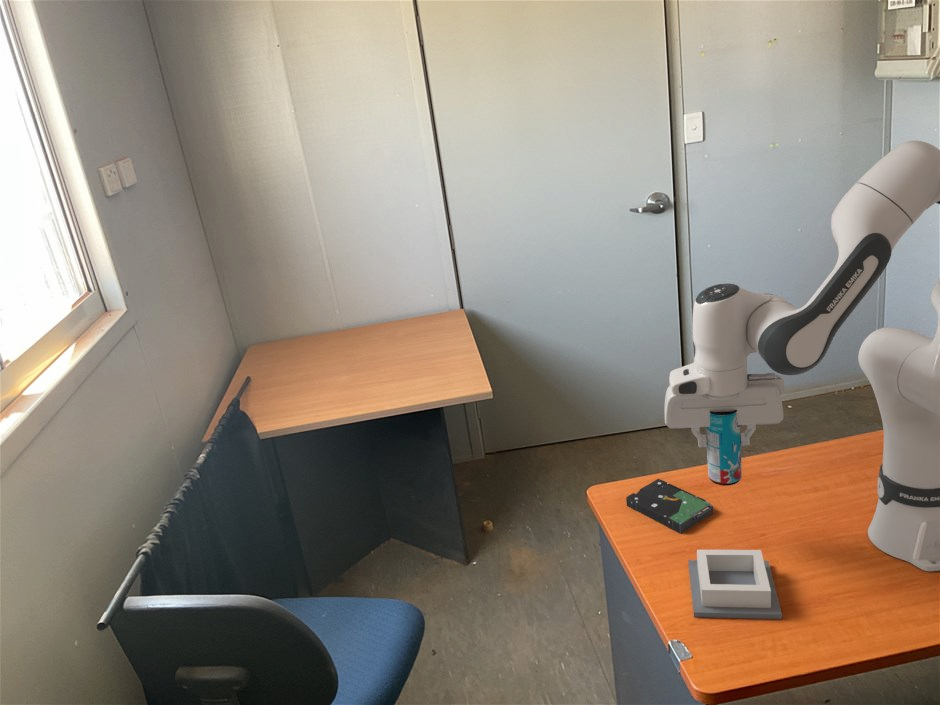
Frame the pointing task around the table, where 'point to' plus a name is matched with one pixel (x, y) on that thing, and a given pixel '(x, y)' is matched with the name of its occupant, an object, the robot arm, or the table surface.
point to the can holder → (733, 585)
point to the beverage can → (724, 448)
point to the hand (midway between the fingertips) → (723, 444)
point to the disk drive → (670, 505)
